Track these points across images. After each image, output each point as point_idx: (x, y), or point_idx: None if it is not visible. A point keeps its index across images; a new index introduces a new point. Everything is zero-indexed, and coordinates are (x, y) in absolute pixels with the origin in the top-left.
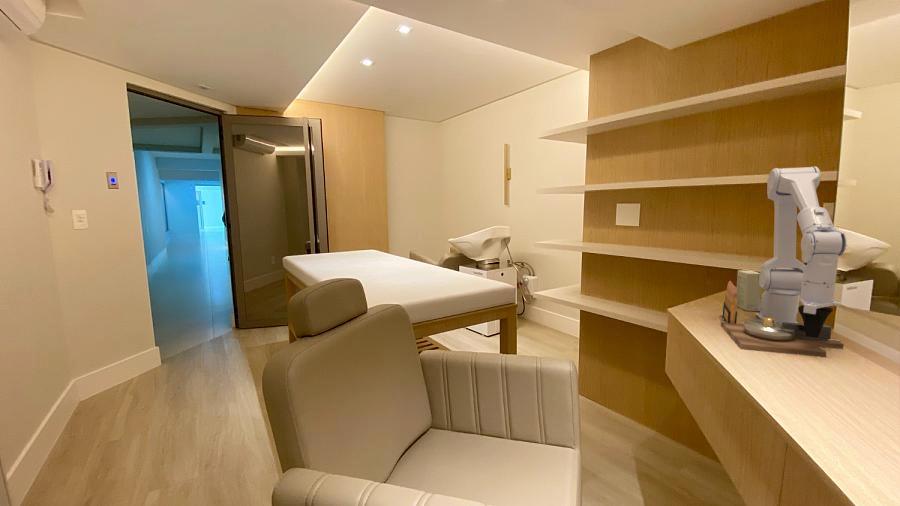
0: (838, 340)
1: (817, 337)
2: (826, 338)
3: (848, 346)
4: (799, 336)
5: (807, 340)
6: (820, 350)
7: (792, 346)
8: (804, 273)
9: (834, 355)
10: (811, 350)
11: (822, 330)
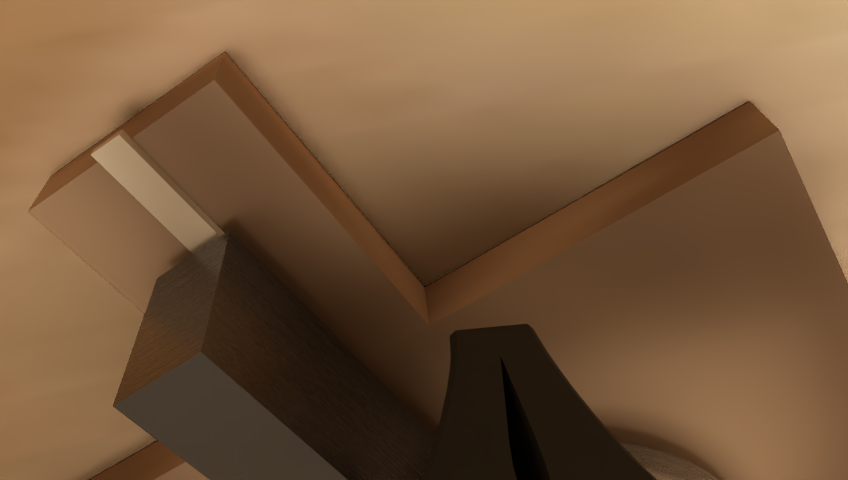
0: (120, 158)
1: (530, 328)
2: (256, 262)
3: (22, 32)
4: (431, 433)
5: (431, 355)
6: (745, 187)
7: (789, 375)
8: None
9: (597, 58)
10: (815, 242)
11: (280, 376)
